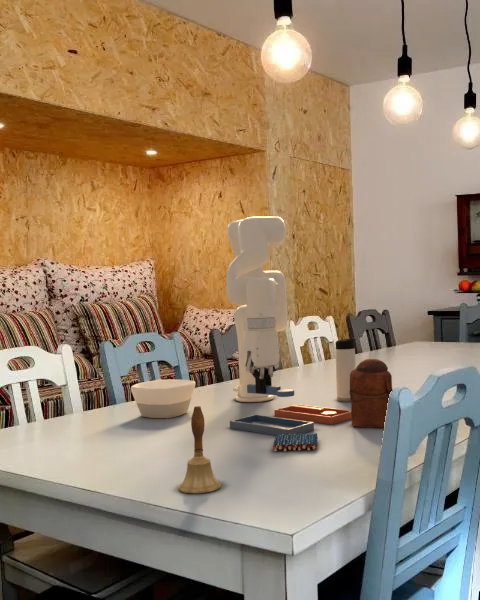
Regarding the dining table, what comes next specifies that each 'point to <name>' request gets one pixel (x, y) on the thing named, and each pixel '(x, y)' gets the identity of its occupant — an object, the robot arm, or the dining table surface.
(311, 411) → the terracotta spoon
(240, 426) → the slate tray
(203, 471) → the hand bell
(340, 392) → the travel mug
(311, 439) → the woven mat
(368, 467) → the dining table surface
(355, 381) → the wooden figurine
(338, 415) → the terracotta tray
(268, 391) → the slate spoon
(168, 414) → the bowl
